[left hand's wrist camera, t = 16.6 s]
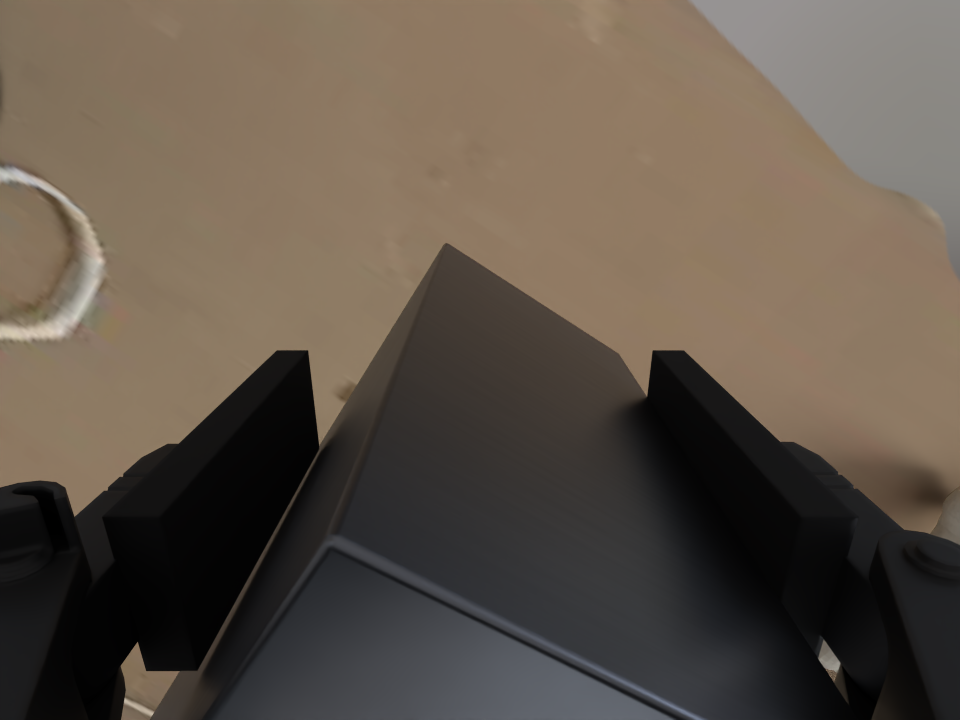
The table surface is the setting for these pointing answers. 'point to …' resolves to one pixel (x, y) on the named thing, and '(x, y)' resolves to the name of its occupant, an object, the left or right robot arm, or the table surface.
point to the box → (502, 548)
